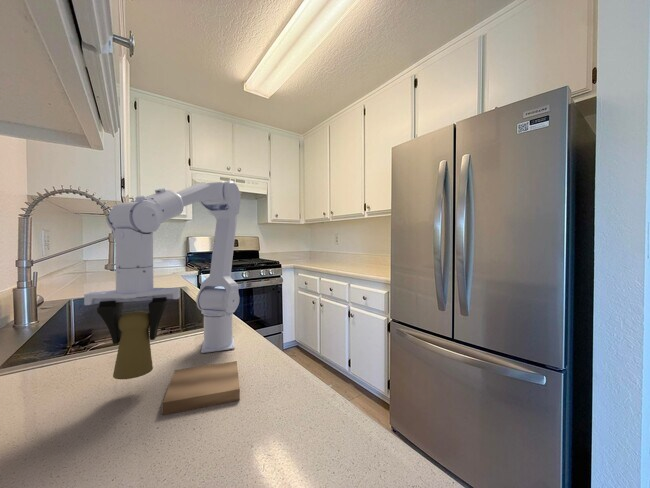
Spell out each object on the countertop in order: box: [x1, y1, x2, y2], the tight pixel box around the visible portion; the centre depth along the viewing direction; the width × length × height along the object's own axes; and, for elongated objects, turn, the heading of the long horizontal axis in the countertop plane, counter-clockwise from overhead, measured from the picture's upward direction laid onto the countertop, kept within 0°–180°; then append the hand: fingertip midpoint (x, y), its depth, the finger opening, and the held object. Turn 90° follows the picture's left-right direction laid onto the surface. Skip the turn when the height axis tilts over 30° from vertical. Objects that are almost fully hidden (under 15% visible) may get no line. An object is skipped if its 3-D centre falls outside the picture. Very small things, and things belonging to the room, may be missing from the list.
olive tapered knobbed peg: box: [112, 310, 154, 380], centre depth 50 cm, size 6×6×11 cm
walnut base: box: [162, 360, 241, 416], centre depth 52 cm, size 12×12×2 cm
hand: (135, 340), depth 51 cm, fingers closed on olive tapered knobbed peg, 5 cm apart
